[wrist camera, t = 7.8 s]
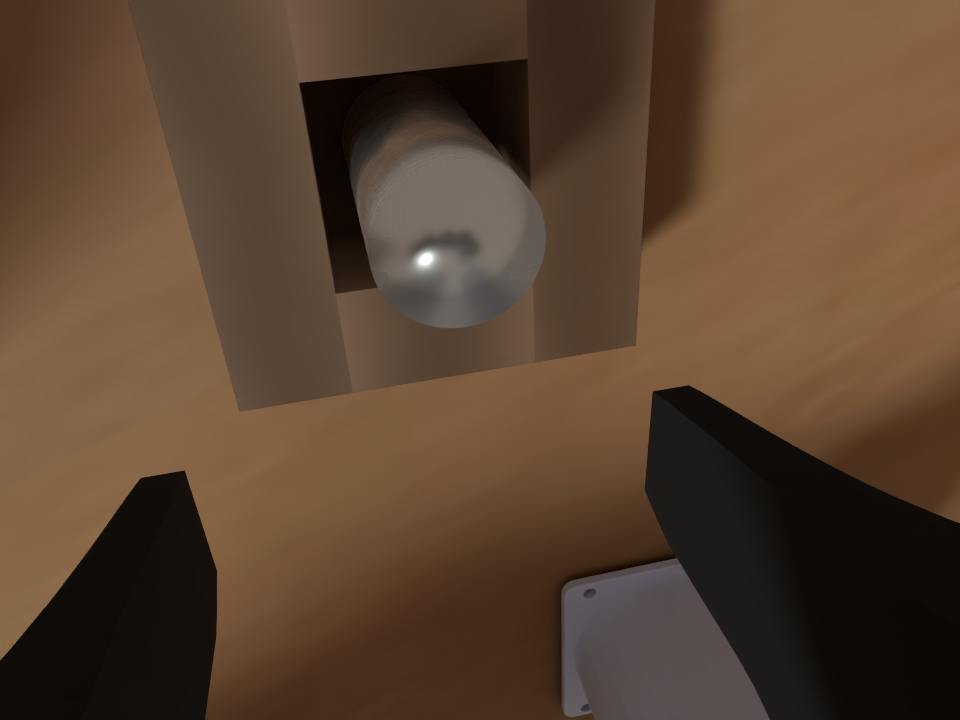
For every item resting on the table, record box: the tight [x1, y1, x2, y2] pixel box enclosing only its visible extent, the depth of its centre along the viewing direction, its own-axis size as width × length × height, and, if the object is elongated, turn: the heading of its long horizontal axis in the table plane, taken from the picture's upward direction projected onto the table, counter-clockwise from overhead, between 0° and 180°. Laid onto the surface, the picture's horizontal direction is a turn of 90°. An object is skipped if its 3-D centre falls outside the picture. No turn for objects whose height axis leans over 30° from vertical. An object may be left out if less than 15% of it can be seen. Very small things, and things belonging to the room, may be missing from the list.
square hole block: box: [128, 0, 656, 411], centre depth 18 cm, size 10×10×4 cm
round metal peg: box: [342, 75, 546, 328], centre depth 17 cm, size 3×3×7 cm
